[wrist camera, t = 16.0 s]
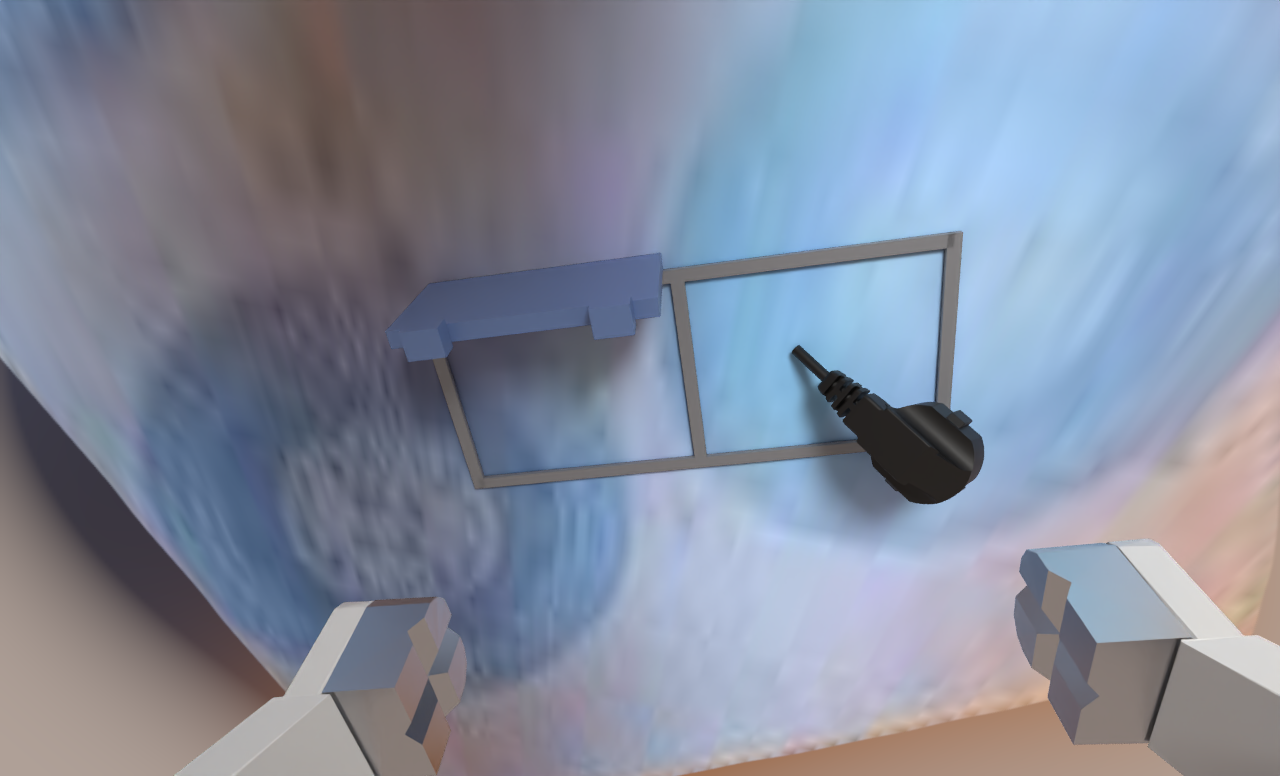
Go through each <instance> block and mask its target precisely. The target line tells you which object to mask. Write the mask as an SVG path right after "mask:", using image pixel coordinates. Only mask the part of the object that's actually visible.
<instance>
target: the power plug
mask: <svg viewBox="0 0 1280 776" xmlns="http://www.w3.org/2000/svg"><path fill="white" fill-rule="evenodd" d="M792 354H793V355H794V356H795V357H796V358H797V359H799V360H800V361H801V362H802V363H803V364H804V365H805V366H806V367H807V368H808V369H809V370H810V371H811V372H812V373H814V374H815V375H816V376H817V377H818V378H819V379H820V380H821V381H822V382H821V383H820V384H819V386H818V389H819V391H820V392H821V393H822V395H825V396H826V400H827V401H828V402H833V404H832V405H831V407H832V408H833V409H834V410H837V411H838V412H837V415H838V416H839V417H844V416H846V417H845V418H844V419H843V422H844V424H845V425H846V426H847V427H848V428H849V429H850V430H851V431H852V432H854V433H855V434H856V435H857V437H858V439H857V440H856V442H857V443H858V444H859V445H860V446H861V447H862V448H863V449H864V450H865V451H866V452H867V453H868V454H869V455H870V456H871V460H872V464H873V467H874V468H875V469H876V470H877V471H878V472H879V473H880V474H881V475H882V476H883V477H885V478H886V480H885V481H886V482H887V483H888V484H889V485H890V486H891V487H892V488H893V489H894V490H895V491H899V492H900V493H901V494H902V495H903V496H904V497H905V498H906V499H907V500H908V501H910V502H914V503H919V504H937V503H940V502H943V501H945V500H948V499H950V498H951V497H953V496H955V495H956V494H957V493H959V492H960V491H962V490H963V489H965V486H966V485H967V484H968V483H970V482H971V481H973V480H974V479H975V478H976V477H977V475H978V474H979V472H980V470H981V467H982V464H983V460H984V445H983V440H982V437H981V436H980V435H979V434H978V433H977V432H976V431H974V430H973V429H972V428H971V427H970V426H969V424H970V423H971V422H972V420H971V419H970V418H969V417H968V416H967V415H965V414H964V413H963V412H962V411H961V410H959V411H956V412H952V411H951V410H950V409H949V408H948V407H947V406H945V405H944V404H943V403H938V402H924V403H919V404H915V405H910V406H906V407H902V408H898V409H897V408H893V407H891V406H890V405H889V404H888V403H886V402H885V401H884V400H883V399H881V398H880V397H879V396H877V395H876V394H874V393H873V394H868V393H869V392H870V390H868V389H866V388H862V387H861V386H862V385H860V384H859V383H852V382H853V381H854V380H853V379H851V378H848V377H846V375H845V374H843V373H842V372H840V371H838V370H836V371H831V372H828V371H827V370H826V369H825V368H824V367H823V366H822V365H820V364H819V363H818V362H817V361H816V360H815V359H814V358H813V357H812V356H811V355H810V354H808V353H807V352H806V351H805V350H804V349H803V348H802V347H801V346H800V345H798V346H797V347H795V348H794V349H793V351H792Z"/></svg>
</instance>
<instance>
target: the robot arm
mask: <svg viewBox="0 0 1280 776" xmlns="http://www.w3.org/2000/svg"><path fill="white" fill-rule="evenodd" d="M1019 572H1020V574H1021V576H1022V577H1023V579H1024V581H1025V582H1026V584H1027V586H1026V587H1025V588H1024V589H1023V590H1022V591H1021V592H1020V593H1019V594H1018V595H1016V598H1015V608H1014V619H1015V625H1016V631H1017V636H1018V639H1019V642H1020V644H1021V647H1022V650H1023V652H1024V654H1025V656H1026V658H1027V660H1028V662H1029V664H1030V666H1031V668H1033V669H1034V670H1036V671H1037V672H1039V673H1040V674H1042V675H1043V676H1044V677H1046V678H1047V679H1049V680H1050V687H1049V692H1048V699H1049V701H1050V703H1051V704H1052V706H1053V708H1054V710H1055V712H1056V714H1057V715H1058V717H1059V719H1060V721H1061V723H1062V725H1063V726H1064V728H1065V730H1066V732H1067V734H1068V736H1069V737H1070V739H1071V741H1072V743H1073V744H1074V745H1083V744H1084V745H1085V744H1132V743H1149V744H1148V748H1150V749H1151V750H1152V751H1154V752H1155V753H1156V754H1157V755H1159V756H1160V757H1161V758H1162V759H1164V760H1165V761H1166V762H1167V763H1169V764H1170V765H1171V766H1172V767H1174V768H1175V769H1176V770H1177V771H1179V772H1180V773H1181V774H1182V775H1184V776H1280V646H1278V645H1276V644H1274V643H1272V642H1270V641H1268V640H1266V639H1264V638H1262V637H1260V636H1258V635H1256V636H1255V635H1254V636H1244V635H1243V634H1242V633H1241V632H1240V631H1239V630H1238V629H1237V627H1236V626H1235V625H1234V624H1233V623H1232V622H1231V621H1230V620H1229V619H1228V618H1227V617H1226V616H1225V614H1224V613H1223V612H1222V611H1221V610H1220V609H1219V608H1218V607H1217V606H1216V605H1215V604H1214V602H1213V601H1212V600H1211V599H1210V598H1209V597H1208V596H1207V595H1206V594H1205V593H1204V592H1203V591H1202V589H1201V588H1200V587H1199V586H1198V585H1197V584H1196V583H1195V582H1194V581H1193V580H1192V579H1191V578H1190V576H1189V575H1188V574H1187V573H1186V572H1185V571H1184V570H1183V569H1182V568H1181V567H1180V566H1179V564H1178V563H1177V562H1176V561H1175V560H1174V559H1173V558H1172V557H1171V556H1170V555H1169V554H1168V553H1167V551H1166V550H1165V549H1164V548H1163V547H1162V546H1161V545H1160V544H1159V543H1157V542H1155V541H1153V540H1151V539H1138V540H1127V541H1116V542H1108V543H1106V544H1105V543H1096V544H1085V545H1074V546H1062V547H1051V548H1040V549H1028V550H1026V551H1025V553H1024V555H1023V556H1022V558H1021V564H1020V570H1019ZM451 615H452V614H451V612H450V610H449V608H448V606H447V603H446V601H445V599H443V598H440V597H424V598H405V599H386V600H375V601H363V602H344V603H342V604H341V605H339V606H338V607H337V608H335V609H334V611H333V612H332V614H331V616H330V617H329V619H328V621H327V622H326V624H325V626H324V628H323V629H322V631H321V633H320V634H319V636H318V638H317V640H316V641H315V643H314V645H313V646H312V648H311V650H310V652H309V653H308V655H307V657H306V659H305V660H304V662H303V664H302V665H301V667H300V669H299V671H298V672H297V674H296V676H295V677H294V679H293V681H292V683H291V684H290V686H289V688H288V689H287V691H286V693H285V695H284V696H283V697H274V698H272V699H271V700H270V701H268V702H267V703H266V704H265V705H263V706H262V707H261V708H259V709H258V710H257V711H256V712H254V713H253V714H252V715H250V716H249V717H248V718H247V719H245V720H244V721H243V722H241V723H240V724H239V725H238V726H236V727H235V728H234V729H233V730H231V731H230V732H229V733H227V734H226V735H225V736H224V737H222V738H221V739H220V740H219V741H217V742H216V743H215V744H213V745H212V746H211V747H209V748H208V749H207V750H206V751H204V752H203V753H202V754H201V755H199V756H198V757H197V758H195V759H194V760H193V761H192V762H190V763H189V764H188V765H186V766H185V767H184V768H183V769H181V770H180V771H179V772H178V773H176V774H175V775H174V776H432V775H437V773H438V769H439V766H440V763H441V760H442V757H443V754H444V751H445V748H446V745H447V741H448V738H449V735H450V732H451V729H450V727H449V725H448V722H447V720H446V718H445V717H446V716H447V715H448V714H449V713H450V712H451V711H452V710H453V709H454V708H455V707H456V706H457V705H458V704H459V703H460V700H461V697H462V693H463V690H464V687H465V681H466V668H467V661H466V654H465V648H464V645H463V643H462V640H461V637H460V636H459V635H458V634H456V633H455V632H453V631H452V630H451V629H449V628H448V627H447V626H448V623H449V621H450V618H451Z"/></svg>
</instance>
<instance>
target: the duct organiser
mask: <svg viewBox="0 0 1280 776" xmlns="http://www.w3.org/2000/svg"><path fill="white" fill-rule="evenodd" d="M962 239H963V232H962V231H956V232H948V233H940V234H933V235H925V236H917V237H910V238H902V239H894V240H886V241H879V242H871V243H863V244H856V245H848V246H840V247H832V248H825V249H817V250H809V251H802V252H794V253H786V254H779V255H771V256H763V257H755V258H748V259H740V260H732V261H725V262H717V263H709V264H701V265H694V266H686V267H678V268H671V269H663V266H662V258H661V253H657V254H649V255H641V256H634V257H626V258H619V259H611V260H604V261H596V262H589V263H581V264H574V265H566V266H558V267H551V268H543V269H536V270H528V271H521V272H513V273H506V274H498V275H491V276H483V277H476V278H468V279H460V280H453V281H445V282H438V283H430V284H428V285H427V286H426V287H425V289H424V290H423V291H422V292H421V293H420V294H419V295H418V296H417V297H416V298H415V299H414V301H413V302H412V303H411V304H410V305H409V306H408V307H407V308H406V309H405V310H404V312H403V313H402V314H401V315H400V316H399V317H398V318H397V319H396V320H395V321H394V322H393V324H392V325H391V326H390V327H389V328H388V329H387V330H386V331H385V333H386V335H387V338H388V341H389V344H390V347H391V349H397V348H403V349H404V351H405V354H406V357H407V360H408V362H413V361H422V360H430V359H433V362H434V365H435V368H436V371H437V374H438V377H439V380H440V383H441V386H442V390H443V393H444V396H445V399H446V402H447V405H448V408H449V411H450V414H451V417H452V420H453V423H454V426H455V429H456V432H457V435H458V438H459V441H460V444H461V447H462V450H463V453H464V456H465V459H466V462H467V465H468V468H469V471H470V474H471V477H472V481H473V484H474V487H475V489H481V488H491V487H501V486H512V485H522V484H533V483H543V482H554V481H564V480H575V479H585V478H596V477H606V476H617V475H627V474H637V473H648V472H658V471H669V470H679V469H690V468H700V467H711V466H721V465H732V464H742V463H753V462H763V461H773V460H784V459H794V458H805V457H815V456H826V455H836V454H847V453H857V452H866V451H865V450H864V449H863V448H862V447H861V446H860V445H859V444H858V443H857V442H856V440H849V441H839V442H829V443H818V444H808V445H798V446H788V447H777V448H767V449H757V450H747V451H737V452H726V453H716V454H706V446H705V438H704V430H703V422H702V415H701V407H700V399H699V391H698V383H697V375H696V367H695V360H694V352H693V344H692V336H691V328H690V320H689V312H688V305H687V297H686V289H685V282H686V281H694V280H702V279H710V278H718V277H725V276H733V275H741V274H749V273H757V272H765V271H773V270H780V269H788V268H796V267H804V266H812V265H820V264H828V263H836V262H843V261H851V260H859V259H867V258H875V257H883V256H891V255H898V254H906V253H914V252H922V251H930V250H938V249H945V258H944V274H943V290H942V307H941V323H940V339H939V356H938V372H937V388H936V402H938V403H943V404H944V405H945V406H947V407H948V408H949V409H950V403H951V389H952V376H953V362H954V348H955V335H956V321H957V307H958V294H959V280H960V266H961V253H962ZM670 283H671V289H672V296H673V303H674V311H675V318H676V325H677V332H678V340H679V347H680V354H681V362H682V369H683V376H684V383H685V391H686V398H687V405H688V412H689V420H690V427H691V434H692V442H693V449H694V456H685V457H675V458H665V459H655V460H644V461H634V462H624V463H614V464H603V465H593V466H583V467H573V468H563V469H552V470H542V471H532V472H522V473H511V474H501V475H491V476H484V473H483V470H482V467H481V464H480V461H479V458H478V454H477V451H476V448H475V445H474V442H473V439H472V436H471V432H470V429H469V426H468V423H467V420H466V417H465V414H464V410H463V407H462V404H461V401H460V398H459V395H458V392H457V388H456V385H455V382H454V379H453V376H452V373H451V370H450V366H449V363H448V360H447V356H448V354H449V353H450V351H451V350H452V348H453V345H452V342H455V341H463V340H471V339H479V338H488V337H496V336H504V335H512V334H521V333H529V332H537V331H545V330H553V329H562V328H570V327H578V326H586V325H591V327H592V332H593V337H594V340H598V339H606V338H614V337H623V336H631V335H635V330H636V321H635V319H644V318H652V317H660V313H661V296H662V285H663V284H670Z"/></svg>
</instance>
